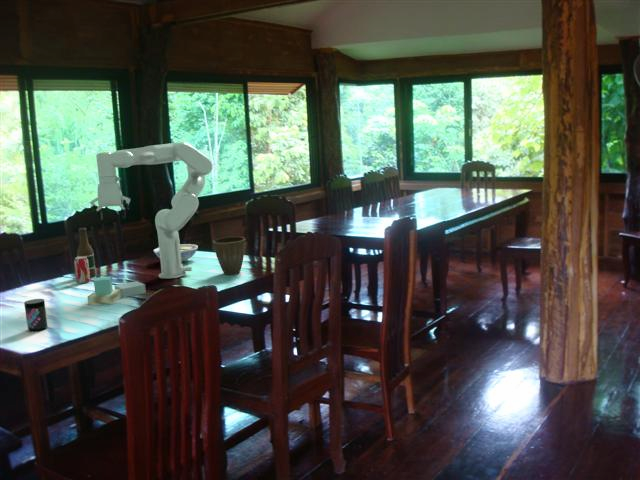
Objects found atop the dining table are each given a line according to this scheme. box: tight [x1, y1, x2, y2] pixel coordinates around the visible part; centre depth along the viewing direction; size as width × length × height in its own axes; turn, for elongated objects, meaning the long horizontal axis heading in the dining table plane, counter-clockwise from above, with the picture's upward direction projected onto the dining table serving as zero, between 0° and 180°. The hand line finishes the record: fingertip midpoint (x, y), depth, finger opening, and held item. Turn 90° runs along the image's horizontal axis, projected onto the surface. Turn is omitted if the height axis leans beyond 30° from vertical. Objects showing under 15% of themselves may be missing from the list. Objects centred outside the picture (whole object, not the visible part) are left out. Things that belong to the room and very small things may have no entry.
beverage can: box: [73, 256, 91, 284], centre depth 318 cm, size 6×6×12 cm
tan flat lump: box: [87, 289, 122, 306], centre depth 280 cm, size 10×10×4 cm
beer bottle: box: [76, 227, 97, 279], centre depth 329 cm, size 8×8×24 cm
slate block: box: [113, 280, 147, 298], centre depth 292 cm, size 10×10×4 cm
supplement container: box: [23, 298, 48, 333], centre depth 245 cm, size 7×7×10 cm
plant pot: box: [212, 236, 246, 276], centre depth 318 cm, size 15×15×16 cm
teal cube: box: [93, 275, 114, 295], centre depth 280 cm, size 6×6×6 cm
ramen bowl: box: [153, 243, 199, 264], centre depth 354 cm, size 25×23×8 cm
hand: (112, 219), depth 303 cm, fingers open, 9 cm apart
